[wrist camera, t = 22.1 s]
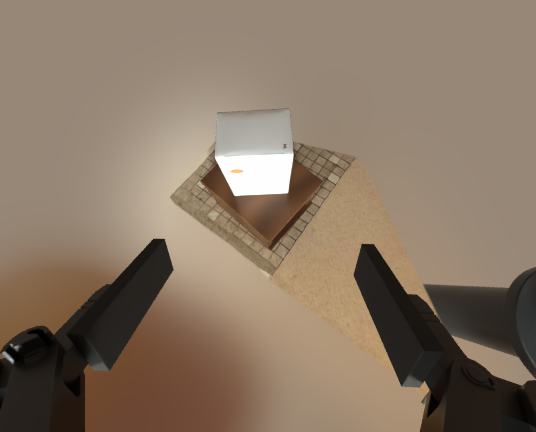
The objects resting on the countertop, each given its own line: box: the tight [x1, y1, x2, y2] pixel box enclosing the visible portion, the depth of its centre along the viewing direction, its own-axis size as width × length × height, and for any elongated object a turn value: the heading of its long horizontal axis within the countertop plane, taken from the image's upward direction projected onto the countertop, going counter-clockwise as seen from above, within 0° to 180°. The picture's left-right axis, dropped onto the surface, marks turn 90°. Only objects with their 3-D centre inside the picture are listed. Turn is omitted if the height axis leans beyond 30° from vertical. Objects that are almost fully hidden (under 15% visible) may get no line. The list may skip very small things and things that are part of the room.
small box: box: [215, 108, 294, 196], centre depth 26 cm, size 8×6×10 cm
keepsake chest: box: [200, 159, 323, 251], centre depth 36 cm, size 14×12×10 cm
